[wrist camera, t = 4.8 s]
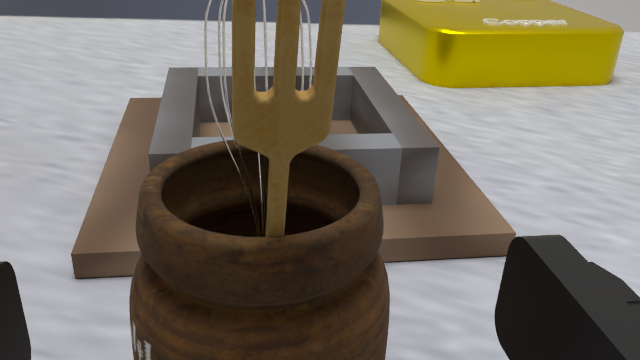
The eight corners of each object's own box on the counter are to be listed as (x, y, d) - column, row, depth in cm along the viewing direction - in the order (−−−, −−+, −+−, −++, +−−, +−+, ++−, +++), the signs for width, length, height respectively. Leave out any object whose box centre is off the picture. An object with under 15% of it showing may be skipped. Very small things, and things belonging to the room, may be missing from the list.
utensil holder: (344, 332, 19) (375, -84, 14) (412, 519, 14) (508, -51, 8) (149, 354, 18) (99, -92, 13) (138, 568, 12) (41, -61, 7)
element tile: (427, 93, 42) (436, 23, 40) (372, 41, 55) (376, -14, 53) (621, 89, 45) (639, 24, 43) (525, 40, 58) (535, -12, 56)
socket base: (75, 278, 21) (60, 188, 19) (131, 114, 35) (125, 54, 34) (511, 255, 23) (528, 173, 22) (400, 110, 38) (406, 54, 36)
